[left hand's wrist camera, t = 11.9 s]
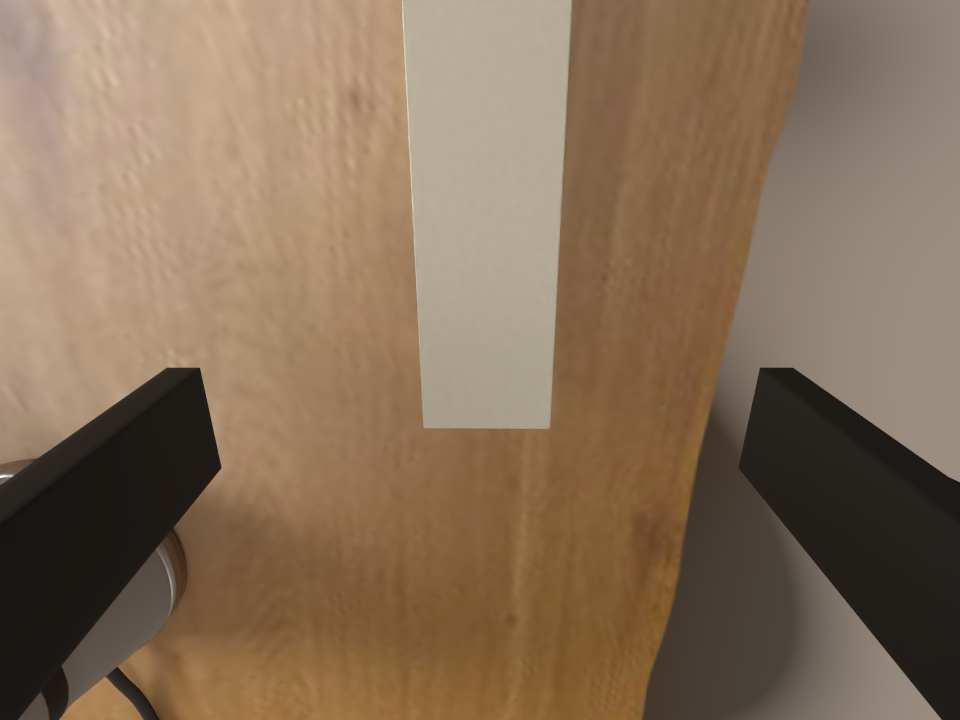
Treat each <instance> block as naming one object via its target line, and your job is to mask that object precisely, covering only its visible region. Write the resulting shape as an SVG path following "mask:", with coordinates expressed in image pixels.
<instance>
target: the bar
mask: <svg viewBox="0 0 960 720" xmlns="http://www.w3.org/2000/svg"><path fill="white" fill-rule="evenodd" d="M402 14H403V34H404V54H405V74H406V93H407V113H408V133H409V152H410V172H411V192H412V212H413V231H414V251H415V271H416V290H417V310H418V330H419V350H420V369H421V389H422V409H423V427H424V428H520V429H549V428H550V419H551V400H552V381H553V361H554V342H555V323H556V304H557V285H558V266H559V247H560V228H561V209H562V190H563V171H564V152H565V133H566V114H567V95H568V76H569V57H570V38H571V19H572V0H402Z"/></svg>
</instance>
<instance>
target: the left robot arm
mask: <svg viewBox="0 0 960 720" xmlns="http://www.w3.org/2000/svg"><path fill="white" fill-rule="evenodd" d="M220 469H221V463H220V459H219V454H218V450H217V445H216V440H215V436H214V431H213V426H212V422H211V417H210V413H209V408H208V403H207V399H206V394H205V389H204V385H203V380H202V375H201V371H200V368H166V369H165V370H163V371H162V372H160V373H159V374H158V375H156V376H155V377H153V378H152V379H150V380H149V381H148V382H146V383H145V384H143V385H142V386H141V387H139V388H138V389H136V390H135V391H133V392H132V393H131V394H129V395H128V396H126V397H125V398H123V399H122V400H121V401H119V402H118V403H116V404H115V405H113V406H112V407H111V408H109V409H108V410H106V411H105V412H104V413H102V414H101V415H99V416H98V417H96V418H95V419H94V420H92V421H91V422H89V423H88V424H86V425H85V426H84V427H82V428H81V429H79V430H78V431H77V432H75V433H74V434H72V435H71V436H69V437H68V438H67V439H65V440H64V441H62V442H61V443H59V444H58V445H57V446H55V447H54V448H52V449H51V450H49V451H48V452H47V453H45V454H44V455H42V456H41V457H40V458H38V459H37V460H23V461H15V462H11V463H6V464H3V465H0V720H59V719H60V718H61V716H62V715H63V714H64V713H65V711H66V710H67V709H68V707H69V706H70V705H71V704H72V703H73V702H74V701H76V700H77V699H78V698H79V697H81V696H82V695H83V694H84V693H86V692H87V691H88V690H89V689H91V688H92V687H93V686H94V685H95V684H97V683H98V682H99V681H100V680H102V679H103V678H104V677H105V676H106V677H107V678H108V679H109V681H110V682H111V683H112V684H113V685H114V686H115V687H116V688H117V689H118V690H119V691H120V692H122V693H123V694H124V695H125V696H126V697H127V698H128V699H129V700H130V701H131V702H132V703H133V705H134V706H135V707H136V709H137V710H138V711H139V713H140V714H141V716H142V717H143V719H144V720H159V718H158V716H157V715H156V713H155V711H154V709H153V708H152V706H151V704H150V703H149V701H148V700H147V698H146V697H145V696H144V694H143V693H142V692H141V691H140V690H139V688H138V687H137V686H136V685H134V684H133V683H132V682H131V681H130V680H129V679H128V678H127V677H126V676H125V675H124V674H123V672H122V671H121V670H120V669H119V668H118V666H119V665H120V664H121V663H122V662H124V661H125V660H126V659H127V658H128V657H129V656H131V655H132V654H133V653H134V652H135V651H137V650H138V649H140V648H141V647H142V646H144V645H145V644H146V643H147V642H149V641H150V640H151V639H152V638H154V637H155V636H156V635H157V634H158V633H159V632H160V630H161V629H162V628H163V626H164V625H165V623H166V622H167V620H168V619H169V618H170V616H171V615H172V613H173V612H174V610H175V609H176V607H177V606H178V604H179V602H180V600H181V599H182V596H183V593H184V591H185V586H186V578H187V572H186V563H185V558H184V555H183V552H182V549H181V547H180V544H179V542H178V540H177V538H176V536H175V535H174V533H173V531H172V529H173V527H174V526H175V525H176V524H177V522H178V521H179V520H180V519H181V517H182V516H183V515H184V514H185V512H186V511H187V510H188V509H189V507H190V506H191V505H192V504H193V503H194V501H195V500H196V499H197V498H198V496H199V495H200V494H201V493H202V491H203V490H204V489H205V488H206V486H207V485H208V484H209V483H210V481H211V480H212V479H213V478H214V477H215V475H216V474H217V473H218V472H219V470H220ZM739 469H740V470H741V472H742V473H743V474H744V475H745V476H746V478H747V479H748V480H749V481H750V483H751V484H752V485H753V486H754V488H755V489H756V490H757V491H758V493H759V494H760V495H761V496H762V498H763V499H764V500H765V501H766V503H767V504H768V505H769V506H770V507H771V509H772V510H773V511H774V512H775V514H776V515H777V516H778V517H779V519H780V520H781V521H782V522H783V524H784V525H785V526H786V527H787V529H788V530H789V531H790V532H791V533H792V535H793V536H794V537H795V538H796V540H797V541H798V542H799V543H800V545H801V546H802V547H803V548H804V550H805V551H806V552H807V553H808V555H809V556H810V557H811V558H812V559H813V561H814V562H815V563H816V564H817V566H818V567H819V568H820V569H821V571H822V572H823V573H824V574H825V575H826V577H827V578H828V579H829V581H830V582H831V583H832V584H833V585H834V587H835V588H836V589H837V590H838V592H839V593H840V594H841V595H842V597H843V598H844V599H845V600H846V602H847V603H848V604H849V605H850V607H851V608H852V609H853V610H854V611H855V613H856V614H857V615H858V616H859V618H860V619H861V620H862V621H863V623H864V624H865V625H866V626H867V628H868V629H869V630H870V631H871V633H872V634H873V635H874V636H875V638H876V639H877V640H878V641H879V642H880V644H881V645H882V646H883V647H884V649H885V650H886V651H887V652H888V654H889V655H890V656H891V657H892V659H893V660H894V661H895V662H896V663H897V665H898V666H899V667H900V668H901V670H902V671H903V672H904V673H905V675H906V676H907V677H908V678H909V680H910V681H911V682H912V683H913V685H914V686H915V687H916V688H917V690H918V691H919V692H920V693H921V694H922V696H923V697H924V698H925V699H926V701H927V702H928V703H929V704H930V706H931V707H932V708H933V709H934V711H935V712H936V713H937V714H938V715H939V717H940V718H941V719H942V720H960V482H958V481H956V480H954V479H951V478H949V477H947V476H946V475H945V474H943V473H942V472H940V471H939V470H938V469H936V468H935V467H933V466H932V465H930V464H929V463H928V462H926V461H925V460H923V459H922V458H920V457H919V456H918V455H916V454H915V453H913V452H912V451H910V450H909V449H908V448H906V447H905V446H903V445H902V444H900V443H899V442H898V441H896V440H895V439H893V438H892V437H891V436H889V435H888V434H886V433H885V432H883V431H882V430H881V429H879V428H878V427H876V426H875V425H874V424H872V423H871V422H869V421H868V420H866V419H865V418H863V417H862V416H861V415H859V414H858V413H856V412H855V411H854V410H852V409H851V408H849V407H848V406H846V405H845V404H844V403H842V402H841V401H839V400H838V399H836V398H835V397H834V396H832V395H831V394H829V393H828V392H827V391H825V390H824V389H822V388H821V387H819V386H818V385H817V384H815V383H814V382H812V381H811V380H810V379H808V378H807V377H805V376H804V375H802V374H801V373H800V372H798V371H797V370H795V369H794V368H760V371H759V375H758V380H757V385H756V389H755V394H754V399H753V403H752V408H751V413H750V417H749V422H748V426H747V431H746V436H745V440H744V445H743V450H742V454H741V459H740V463H739Z"/></svg>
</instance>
